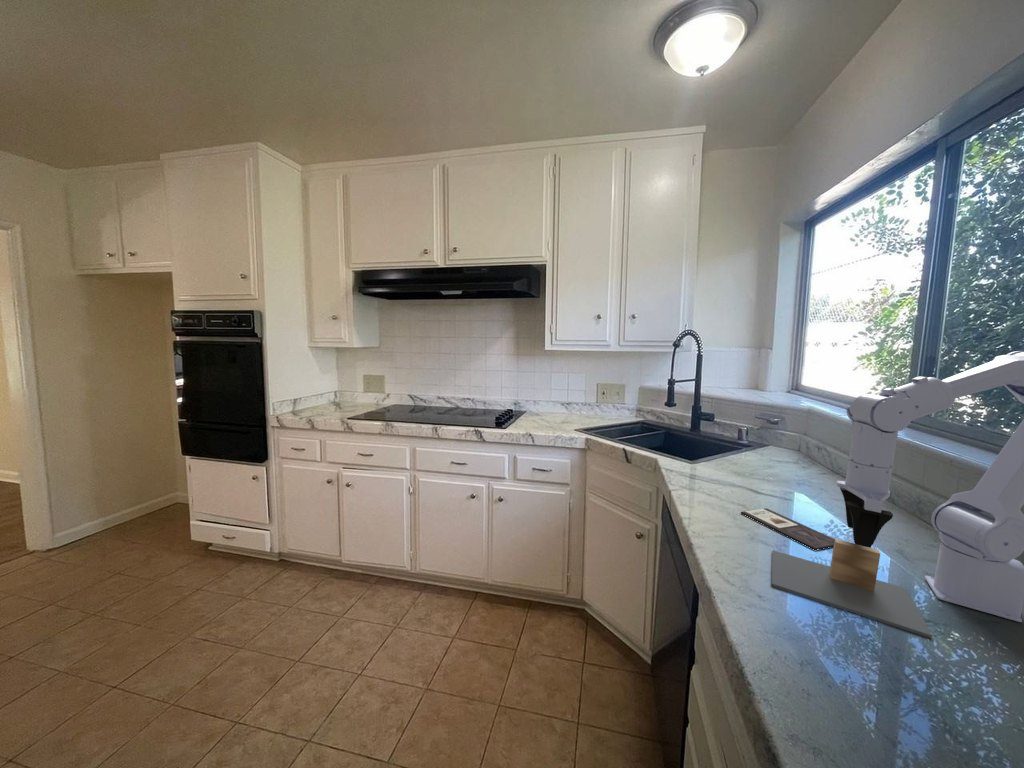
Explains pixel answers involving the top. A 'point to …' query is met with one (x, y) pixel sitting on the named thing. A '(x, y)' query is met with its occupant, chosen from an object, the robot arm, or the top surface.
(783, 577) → the rubber mat
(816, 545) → the chocolate bar
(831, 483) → the top surface
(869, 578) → the oak tile
